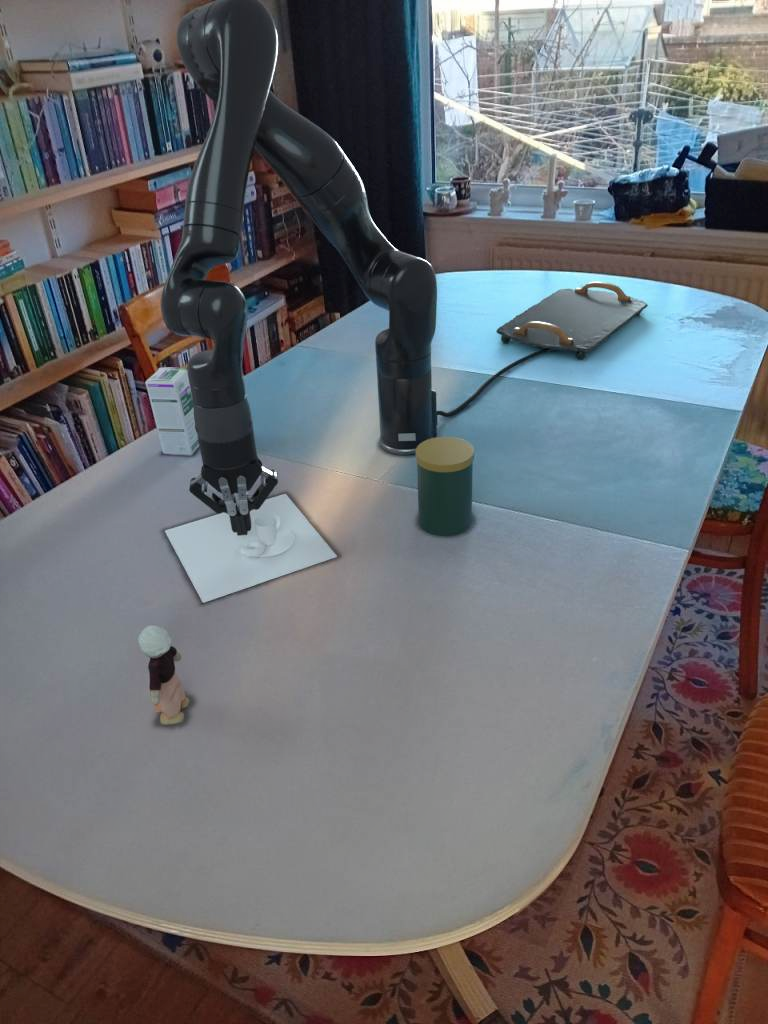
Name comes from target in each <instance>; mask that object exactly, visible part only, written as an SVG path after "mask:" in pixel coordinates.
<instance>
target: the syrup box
mask: <svg viewBox="0 0 768 1024" xmlns="http://www.w3.org/2000/svg"><path fill="white" fill-rule="evenodd" d="M144 382H145V386H146V390H147V394H148V399H149V403H150V406H151V410H152V415H153V419H154V423H155V426H156V430H157V434H158V438H159V443H160V446H161V451H162V454H165V455H172V456H193V455H194V453H195V452H196V451H197V449H198V448H200V446H199V441H198V436H197V433H196V430H195V420H194V407H193V399H192V394H191V389H190V384H189V378H188V372H187V367H178V366H177V367H176V366H169V367H167V366H166V367H159V368H158V369H157V371H156V372H154V373H153V374H152V375H151V376H150V377H148V379H147V380H145V381H144Z"/></svg>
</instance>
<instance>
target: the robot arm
mask: <svg viewBox="0 0 768 1024" xmlns="http://www.w3.org/2000/svg"><path fill="white" fill-rule="evenodd" d="M176 47H177V51H178V53H179V57H180V59H181V61H182V64H183V65H184V68H185V69H186V72H187V73H188V74H189V76H190V78H192V80H193V82H195V84H196V85H197V86H198V88H199V89H200V90H202V92H203V93H204V94H205V95H206V96H207V97H208V98H209V99H210V101H212V102H213V103H214V104H215V105H216V106H215V111H214V114H213V117H212V121H211V124H210V127H209V128H208V132H207V134H206V136H205V139H204V141H203V143H202V146H201V148H200V150H199V153H198V155H197V157H196V159H195V162H194V165H193V167H192V169H191V173H190V175H189V180H188V182H187V183H188V184H187V187H186V193H185V201H184V212H183V223H182V234H181V240H180V243H179V245H178V247H177V251H176V253H175V255H174V258H173V262H172V264H171V267H170V270H169V271H168V275H167V277H166V280H165V282H164V285H163V288H162V292H161V296H160V313H161V316H162V320H163V322H164V324H165V327H167V329H168V330H169V331H170V332H171V333H173V334H174V335H177V336H180V337H189V338H200V339H209V340H212V341H213V348H211V349H206V350H202V351H199V352H196V353H195V354H193V355H192V356H190V358H189V359H188V361H187V363H186V365H187V366H186V368H187V372H188V378H189V384H190V389H191V394H192V399H193V407H194V420H195V430H196V433H197V436H198V441H199V450H200V456H201V460H202V462H201V463H202V466H201V470H200V474H199V475H198V476H197V477H191V479H190V481H189V490H188V491H189V493H191V494H192V495H193V496H194V497H195V498H197V499H198V500H200V502H202V503H203V504H204V505H206V506H207V507H208V508H210V510H212V511H213V512H215V514H221V513H227V514H228V515H229V516H230V522H231V528H232V531H233V532H234V533H235V532H237V535H238V536H240V535H248V531H251V517H250V511H251V510H253V509H254V510H258V509H259V508H260V507H261V505H262V504H263V503H264V501H265V500H266V499H268V497H269V496H270V494H271V493H272V492H273V490H274V489H275V488H276V486H277V484H278V483H279V480H278V479H279V477H278V471H277V470H276V469H271V470H269V469H267V468H265V467H264V466H263V462H262V461H261V460H260V458H259V455H258V451H257V446H256V438H255V431H254V425H253V418H252V412H251V407H250V404H249V403H250V402H249V399H248V397H247V392H246V385H245V378H244V371H243V360H244V359H243V358H244V347H245V338H246V331H247V325H248V316H249V307H248V301H247V299H246V297H245V295H244V293H243V291H242V290H241V289H240V288H239V287H238V286H237V285H236V284H235V283H232V282H229V281H223V280H210V279H206V278H207V276H208V274H209V273H210V271H211V270H212V269H213V268H215V267H216V266H221V265H225V264H229V263H232V262H234V261H235V260H236V259H237V258H238V256H239V253H240V249H241V242H242V241H241V240H242V231H243V221H244V211H245V202H246V201H245V200H246V193H247V187H248V180H249V174H250V169H251V164H252V159H253V156H254V151H255V150H256V151H257V152H258V154H259V155H260V156H261V157H262V159H263V160H264V161H265V162H266V164H267V165H268V166H269V167H270V168H271V169H272V171H273V172H274V174H276V176H277V177H278V178H279V180H280V181H281V183H282V184H283V185H284V187H285V188H286V190H287V191H288V192H289V194H290V195H291V197H293V199H294V200H295V201H296V203H297V204H298V205H299V207H300V208H301V209H302V210H303V212H304V213H305V214H306V215H307V216H308V218H309V219H310V220H311V221H312V222H313V223H314V224H315V226H316V227H317V228H318V230H319V231H320V232H321V233H322V234H323V236H324V237H325V239H327V240H328V242H329V244H331V245H332V246H333V247H334V249H335V250H336V251H337V252H338V253H339V255H340V256H341V257H342V259H343V261H344V262H345V263H346V265H347V267H348V269H349V270H350V272H351V274H352V275H353V277H354V279H355V280H356V282H357V284H358V285H359V287H360V289H361V290H362V292H363V293H364V296H365V297H367V299H368V300H369V301H370V302H371V303H372V304H373V305H375V306H377V307H379V308H381V309H383V310H386V311H388V328H386V329H384V330H382V331H381V332H379V333H378V334H377V335H376V337H375V339H374V340H375V341H374V346H375V347H374V349H375V350H374V351H375V363H376V364H375V365H376V381H377V401H378V417H379V418H378V419H379V421H378V422H379V444H380V447H381V448H382V449H383V450H384V451H385V452H387V453H390V454H393V455H398V456H410V455H411V456H412V455H416V448H417V446H418V445H419V444H420V443H422V442H423V441H426V440H428V439H431V438H436V437H438V424H439V423H438V416H441V417H443V418H449V417H452V416H454V415H456V414H458V413H459V412H460V413H461V411H462V410H464V409H465V408H467V406H468V405H469V404H472V402H473V401H474V400H475V399H477V397H479V396H480V394H482V392H483V391H484V390H485V389H486V388H487V387H488V386H489V385H490V384H492V383H493V382H494V381H495V380H497V379H498V378H499V377H500V376H502V375H503V374H505V373H506V372H508V371H509V370H511V369H513V368H514V367H516V366H518V365H520V364H522V363H525V362H526V361H529V360H530V359H533V358H535V357H537V356H540V355H542V354H544V353H548V352H550V351H553V350H554V349H549V348H542V349H539V350H537V351H535V352H533V353H530V354H528V355H525V356H523V357H521V358H520V359H517V360H515V361H514V362H512V363H510V364H508V365H507V366H505V367H503V368H502V369H500V370H499V371H498V372H496V373H495V374H493V375H492V376H491V377H490V378H489V379H488V380H486V381H485V382H484V383H483V384H482V385H481V386H480V387H479V389H478V390H476V392H475V393H473V394H472V396H470V397H469V398H467V400H465V401H464V402H462V404H461V405H459V406H458V407H457V408H455V409H453V410H451V411H448V412H445V411H443V410H437V392H436V390H435V389H433V387H432V386H433V385H432V381H433V380H432V379H433V378H432V342H433V339H434V337H435V333H436V328H437V306H438V304H437V303H438V282H437V276H436V272H435V270H434V268H433V266H432V264H431V263H430V262H428V261H427V260H426V259H423V258H422V257H419V256H415V255H413V254H410V253H406V252H404V251H401V250H399V249H397V248H396V247H394V245H393V244H391V242H390V241H388V239H387V237H386V236H385V235H384V234H383V233H382V232H381V230H380V229H379V228H378V227H377V225H376V224H375V222H374V221H373V218H372V216H371V214H370V208H369V204H368V197H367V193H366V190H365V186H364V183H363V180H362V178H361V176H360V175H359V173H358V171H357V170H356V168H355V166H354V165H353V164H352V162H351V161H350V159H349V158H348V156H347V154H345V152H344V150H343V149H342V148H341V146H340V145H339V144H338V142H337V141H336V140H335V139H334V138H333V137H332V136H331V135H330V134H328V133H327V132H326V131H325V130H323V128H321V127H320V126H318V125H317V124H315V123H314V122H312V121H311V120H309V119H308V118H306V117H305V116H303V115H302V114H300V113H299V112H297V111H295V110H294V109H293V108H292V107H290V106H288V105H287V104H285V103H284V101H282V100H280V98H278V96H276V94H274V93H273V92H272V90H271V85H272V81H273V78H274V74H275V69H276V65H277V59H278V51H279V37H278V30H277V28H276V23H275V21H274V18H273V16H272V14H271V13H270V11H269V9H268V7H266V5H265V4H264V3H263V2H262V1H261V0H214V1H212V2H209V3H206V4H204V5H202V6H199V7H196V8H195V9H192V10H190V11H188V12H187V13H186V14H185V15H184V16H182V18H181V19H180V20H179V23H178V25H177V29H176ZM259 477H260V484H259V486H258V487H257V489H256V490H255V491H254V492H253V494H252V496H251V497H249V491H251V490H252V488H253V487H254V485H255V484H256V482H257V481H258V479H259ZM209 485H210V486H211V487H212V488H213V489H214V490H215V491H216V492H217V493H216V492H215V491H214V490H213V489H211V488H210V487H209ZM218 493H220V494H221V495H222V497H221V496H220V495H219V494H218ZM236 494H237V498H238V502H237V498H236ZM239 508H240V509H239Z"/></svg>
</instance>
